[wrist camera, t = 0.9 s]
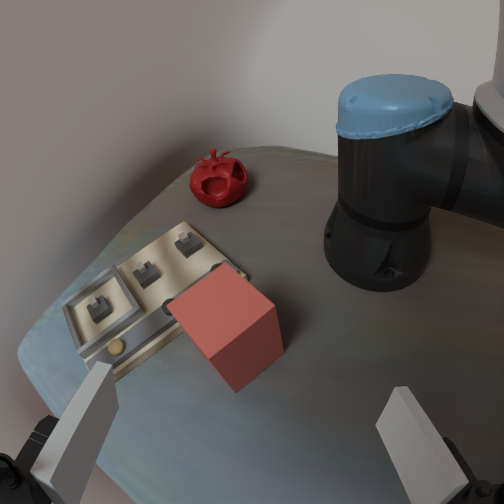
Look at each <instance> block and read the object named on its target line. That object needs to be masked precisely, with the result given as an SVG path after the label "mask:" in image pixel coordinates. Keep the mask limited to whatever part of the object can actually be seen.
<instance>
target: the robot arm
mask: <svg viewBox="0 0 504 504" xmlns="http://www.w3.org/2000/svg"><path fill="white" fill-rule="evenodd" d="M453 100H454V99H453V97H452V94H451V91H450V90H449V88H448V87H447V86H445V85H444V84H441V83H440V82H438V81H435V80H428V79H426V78H424V77H420V76H413V75H402V74H387V75H376V76H371V77H366V78H362V79H359V80H356V81H354V82H352V83H350V84H348V85H347V86H346V87H345V88H344V89H343V90H342V92H341V93H340V96H339V101H338V122H337V124H336V130H337V133H338V199H337V202H336V204H335V206H334V208H333V211H332V213H331V215H330V217H329V219H328V222H327V224H326V227H325V231H324V252H325V256H326V259H327V261H328V263H329V265H330V266H331V267H332V269H333V270H334V271H335V272H336V273H337V274H338V275H339V276H340V277H341V278H343V279H344V280H345V281H347V282H349V283H350V284H352V285H354V286H357V287H359V288H362V289H366V290H370V291H379V292H386V291H394V290H398V289H402V288H404V287H406V286H408V285H410V284H412V283H413V282H414V281H416V280H417V279H418V278H419V277H420V275H421V274H422V272H423V271H424V269H425V266H426V264H427V261H428V258H429V255H430V249H431V243H430V227H429V213H430V209H431V206H433V207H437V208H441V209H444V210H448V211H451V212H455V213H458V214H461V215H465V216H468V217H471V218H474V219H477V220H480V221H483V222H486V223H489V224H492V225H495V226H498V227H501V228H504V0H500V15H499V32H498V43H497V52H496V60H495V67H494V74H493V80H492V81H489V82H486V83H484V84H481V85H480V86H478V87H477V88H476V91H475V96H474V101H473V106H472V107H471V106H468V105H464V104H460V103H457V102H453ZM118 408H119V405H118V400H117V394H116V388H115V381H114V374H113V367H112V365H111V364H107V363H103V362H99V361H97V362H96V363H95V365H94V366H93V368H92V369H91V371H90V372H89V374H88V375H87V377H86V378H85V380H84V382H83V383H82V385H81V386H80V388H79V389H78V391H77V392H76V394H75V396H74V397H73V399H72V400H71V402H70V403H69V405H68V407H67V408H66V410H65V412H64V413H63V415H62V416H61V418H60V419H58V418H55V417H53V416H50V415H48V416H46V417H45V418H44V419H42V420H41V421H39V423H38V424H37V426H36V427H35V429H34V432H32V434H31V435H30V437H29V439H28V440H27V441H26V443H25V445H24V446H23V448H22V450H21V451H20V453H19V454H18V456H17V458H16V459H15V461H14V460H13V459H12V458H11V457H10V456H8V455H6V454H4V453H0V504H51V503H52V502H53V504H79V503H80V500H81V497H82V495H83V492H84V489H85V487H86V484H87V482H88V479H89V477H90V474H91V472H92V469H93V467H94V464H95V462H96V459H97V457H98V455H99V452H100V450H101V447H102V445H103V443H104V440H105V438H106V436H107V433H108V431H109V429H110V426H111V424H112V422H113V420H114V417H115V415H116V413H117V411H118ZM375 426H376V428H377V430H378V432H379V434H380V436H381V438H382V440H383V442H384V445H385V447H386V449H387V451H388V453H389V455H390V458H391V460H392V462H393V464H394V466H395V468H396V471H397V473H398V475H399V477H400V479H401V482H402V484H403V486H404V488H405V491H406V493H407V495H408V497H409V500H410V502H411V504H504V483H503V484H497V485H491V484H490V483H489V482H487V481H485V480H479V481H478V480H477V479H476V477H475V476H474V474H473V473H472V471H471V469H470V468H469V466H468V465H467V463H466V461H465V460H464V458H462V455H461V454H460V452H458V449H457V448H456V446H455V445H454V443H453V442H451V441H450V440H449V439H448V438H446V437H444V438H441V436H440V435H439V433H438V431H437V430H436V428H435V427H434V425H433V424H432V422H431V421H430V419H429V418H428V416H427V415H426V413H425V412H424V410H423V409H422V407H421V406H420V404H419V403H418V401H417V400H416V398H415V397H414V395H413V394H412V393H411V391H410V390H409V388H408V387H407V386H402V387H395V388H394V390H393V392H392V394H391V396H390V398H389V400H388V402H387V404H386V406H385V408H384V410H383V412H382V414H381V416H380V418H379V419H378V421H377V423H376V425H375Z"/></svg>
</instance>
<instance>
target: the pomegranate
mask: <svg viewBox="0 0 504 504" xmlns="http://www.w3.org/2000/svg"><path fill="white" fill-rule="evenodd" d="M209 152H210V154H211V159H209V160H204V159H203V158H199V159H198V160H196V161H199V160H202V162H201V163H198V164H197V165H196V167H195V169H194V171H193V173H192V174H191V176H190V183H189V187H190V189H191V191H192V193H193V194H194V196H195V197H196V198H197V199H198V200H199V201H200V202H201V203H203V204H205V205H208V206H211V207H218V208H220V207H225V206H228V205H230V204H231V203H233V202H235V201H236V200H238V199H239V198H240V197H241V196H242V195H243V194H244V192H245V189H246V186H247V173H246V170H245V168H244V166H243V164H242V163H241V162H240V161H239V160H238V159H235V158H226V157H223V156H224V155H225V154H228V153H230V151H229V152H224V153H222V154H221V156H220V157H216V149H212V150H210V151H209ZM196 161H195V162H196Z"/></svg>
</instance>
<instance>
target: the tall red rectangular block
mask: <svg viewBox="0 0 504 504" xmlns="http://www.w3.org/2000/svg"><path fill="white" fill-rule="evenodd" d="M166 306H167V308H168V309H169V311H170V312H171V313H172V315H173V316H174V318H175V319H176V320H177V322H178V323H179V325H180V326H181V327H182V329H183V330H184V331H185V333H186V334H187V335H188V337H189V338H190V339H191V341H192V342H193V343H194V345H195V346H196V347H197V349H198V350H199V351H200V352H201V354H202V355H203V356H204V357H205V358H206V360H207V361H208V362H209V363H210V364H211V365H212V367H213V368H214V369H215V370H216V371H217V372H218V374H219V375H220V376H221V377H222V378H223V379H224V381H225V382H226V383H227V384H228V385H229V386H230V387H231V388H232V390H233V391H234V392H235V393H236V392H238V391H239V390H240V389H241V388H243V387H244V386H245V385H246V384H248V383H249V382H250V381H251V380H252V379H254V378H255V377H256V376H257V375H258V374H260V373H261V372H262V371H263V370H264V369H266V368H267V367H268V366H269V365H270V364H271V363H273V362H274V361H275V360H276V359H277V358H278V357H279V356H281V355H282V354H283V353H284V349H283V343H282V338H281V333H280V328H279V323H278V318H277V312H276V307H275V305H274V304H273V303H272V302H271V301H269V300H268V299H267V298H266V297H265V296H264V295H263V294H261V293H260V292H259V291H258V290H257V289H256V288H254V287H253V286H252V285H251V284H250V283H249V282H248V281H246V280H245V279H244V278H243V277H242V276H241V275H240V274H238V273H237V272H236V271H235V270H234V269H233V268H232V267H230V266H229V265H228V264H227V263H226V262H225V263H223V264H222V265H220V266H219V267H218V268H216V269H215V270H214V271H212V272H211V273H210V274H208V275H207V276H205V277H204V278H203V279H201V280H200V281H199V282H197V283H196V284H195V285H193V286H192V287H191V288H189V289H188V290H186V291H185V292H184V293H182V294H181V295H180V296H178V297H177V298H176V299H174V300H173V301H172V302H170V303H169V304H167V305H166Z"/></svg>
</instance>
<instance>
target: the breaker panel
mask: <svg viewBox="0 0 504 504" xmlns="http://www.w3.org/2000/svg"><path fill="white" fill-rule="evenodd" d="M225 262H226V263H227V264H228V265H229V266H230V267H232V268H233V269H234V270H235V271H236V272H237V273H238V274H240V275H241V276H242V277H243V278H244V279H245V280H246V281H248V280H247V276H246V275H245V274H244V273H243V272H242V271H241V270H240V269H238V268H237V267H236V266H235V265H234V264H233V263H232V262H230V261H229V260H228V259H227V258H226V257H225V256H223V255H222V254H221V253H220V252H219V251H218V250H217V249H215V248H214V247H213V246H212V245H211V244H210V243H208V242H207V241H206V240H205V239H204V238H203V237H202V236H200V235H199V234H198V233H197V232H196V231H195V230H194V229H192V228H191V227H190V226H189V225H188V224H187V223H186V222H185V221H183V222H182V223H180V224H179V225H177V226H176V227H174V228H173V229H171V230H170V231H168V232H167V233H165V234H164V235H162V236H161V237H159V238H158V239H156V240H155V241H154V242H152V243H151V244H149V245H148V246H146V247H145V248H143V249H142V250H141V251H139V252H138V253H136V254H135V255H134V256H132V257H131V258H129V259H128V260H126V261H125V262H124V263H122V264H121V265H120V266H118V267H117V268H116V267H115V266H114V264H113V265H111V266H110V267H108V268H107V269H106V270H104V271H103V272H102V273H100V274H99V275H98V276H96V277H95V278H93V279H92V280H91V281H89V282H88V283H87V284H85V285H84V286H83V287H82V288H80V289H79V290H78V291H76V292H75V293H74V294H72V295H71V296H70V297H69V298H67V299H66V300H65V301H63V302H62V303H61V305H62V309H63V312H64V315H65V318H66V321H67V324H68V327H69V330H70V333H71V336H72V338H73V341H74V344H75V347H76V349H77V352H78V354H79V355H80V356H81V357H83V359H84V361H85V364H86V366H87V368H88V371H89V372H90V371H91V369H92V368H93V366H94V365H95V363H96V362H97V361H99V362H103V363H107V364H111V365H112V367H113V374H114V381H115V382H117V381H118V380H119V379H121V378H122V377H123V376H125V375H126V374H127V373H129V372H130V371H132V370H133V369H134V368H136V367H137V366H138V365H140V364H141V363H142V362H144V361H145V360H146V359H148V358H149V357H150V356H152V355H153V354H154V353H156V352H157V351H158V350H160V349H161V348H163V347H164V346H165V345H167V344H168V343H169V342H171V341H172V340H173V339H175V338H176V337H177V336H178V335H180V334H181V333H182V332H184V330H183V329H182V327H181V326H180V325H179V323H178V322H177V320H176V319H175V318H174V316H173V315H172V313H171V312H170V311H169V309H168V308H167V306H166V305H167V304H169V303H170V302H172V301H173V300H174V299H176V298H177V297H178V296H180V295H181V294H182V293H184V292H185V291H186V290H188V289H189V288H191V287H192V286H193V285H195V284H196V283H197V282H199V281H200V280H201V279H203V278H204V277H205V276H207V275H208V274H210V273H211V272H212V271H214V270H215V269H216V268H218V267H219V266H220V265H222V264H223V263H225Z"/></svg>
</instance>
